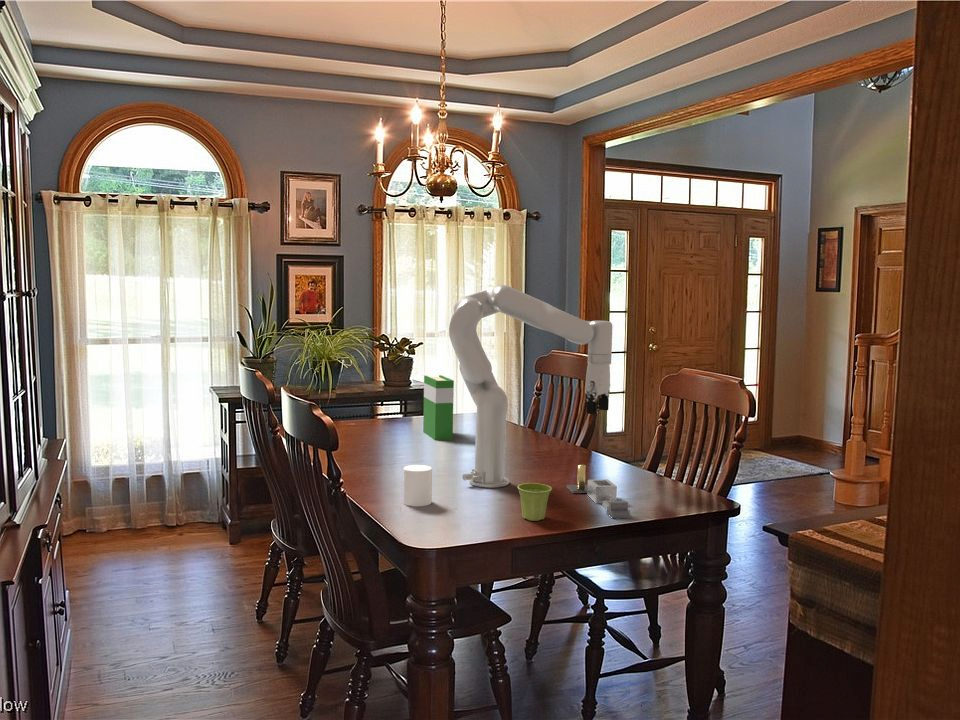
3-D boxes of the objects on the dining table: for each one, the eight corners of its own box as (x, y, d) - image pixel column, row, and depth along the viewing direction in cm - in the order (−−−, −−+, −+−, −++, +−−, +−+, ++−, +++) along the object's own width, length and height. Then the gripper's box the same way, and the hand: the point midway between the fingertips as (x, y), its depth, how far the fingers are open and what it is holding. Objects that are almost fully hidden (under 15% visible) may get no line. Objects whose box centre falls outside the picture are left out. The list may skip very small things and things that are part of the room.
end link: (616, 502, 242) (616, 486, 241) (595, 503, 241) (595, 486, 240) (607, 495, 250) (608, 479, 249) (587, 495, 249) (587, 479, 248)
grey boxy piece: (629, 518, 226) (630, 504, 226) (612, 518, 226) (612, 504, 225) (623, 513, 231) (624, 499, 231) (606, 513, 231) (607, 499, 230)
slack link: (620, 511, 233) (621, 506, 233) (608, 511, 232) (608, 506, 232) (614, 505, 239) (614, 500, 239) (602, 505, 238) (602, 500, 238)
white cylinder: (405, 471, 231) (399, 462, 242) (405, 507, 232) (399, 496, 243) (434, 470, 233) (427, 461, 244) (433, 506, 234) (426, 495, 245)
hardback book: (423, 432, 344) (424, 375, 341) (440, 431, 346) (441, 375, 344) (434, 440, 327) (436, 380, 325) (452, 439, 330) (453, 380, 327)
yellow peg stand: (594, 493, 252) (595, 468, 251) (572, 493, 251) (573, 468, 250) (588, 487, 259) (589, 462, 258) (566, 488, 258) (567, 463, 257)
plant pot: (548, 513, 229) (549, 483, 228) (552, 523, 220) (553, 491, 219) (515, 512, 229) (516, 482, 228) (518, 522, 220) (518, 491, 219)
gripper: (599, 356, 271) (597, 407, 273) (577, 360, 257) (575, 414, 258) (620, 357, 267) (618, 409, 269) (599, 362, 253) (597, 416, 254)
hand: (597, 411), depth 264 cm, fingers open, 9 cm apart
